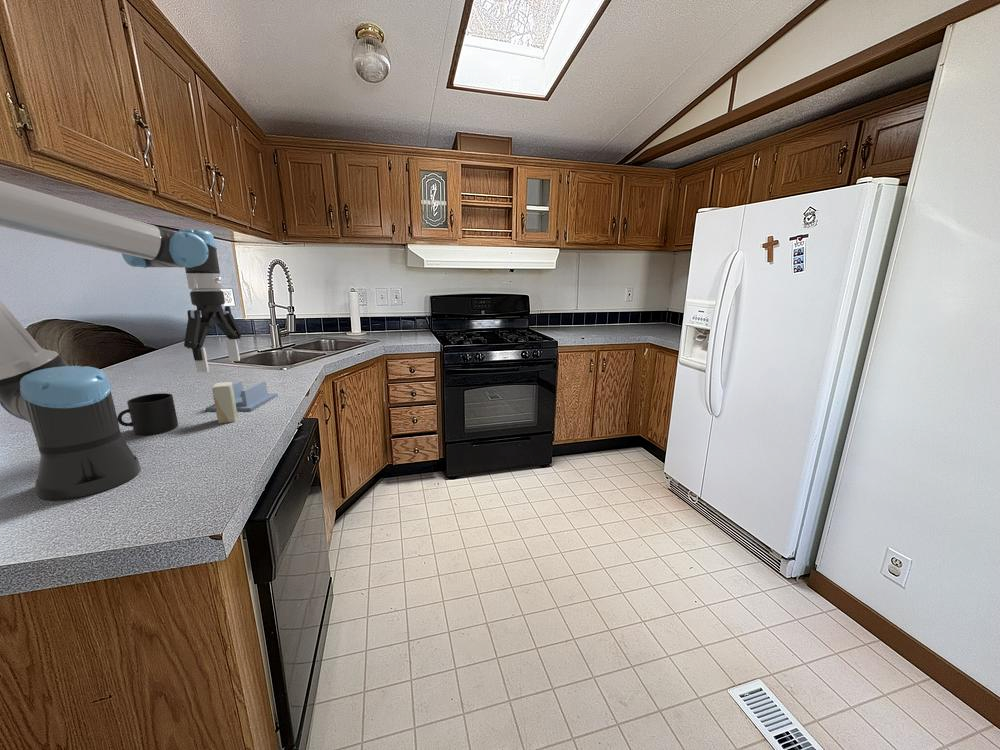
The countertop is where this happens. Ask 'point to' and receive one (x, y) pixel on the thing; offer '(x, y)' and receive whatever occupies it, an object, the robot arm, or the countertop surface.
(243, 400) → the slot bracket
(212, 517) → the countertop surface
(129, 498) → the countertop surface
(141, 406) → the mug
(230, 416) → the box
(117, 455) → the robot arm
